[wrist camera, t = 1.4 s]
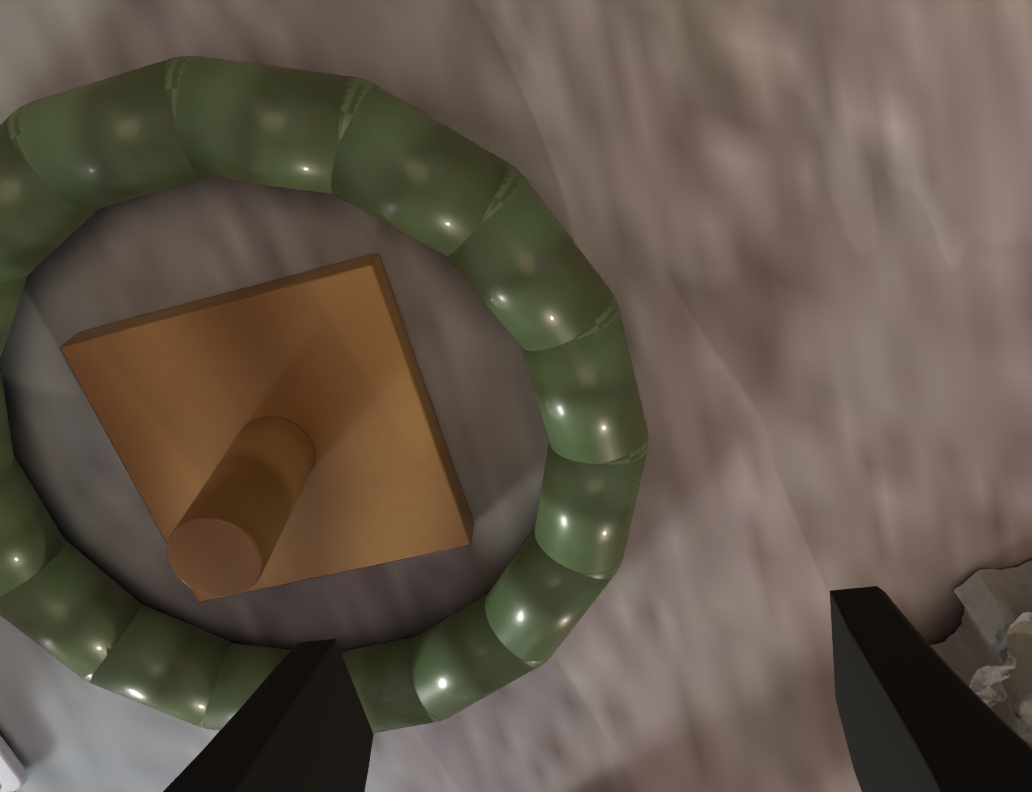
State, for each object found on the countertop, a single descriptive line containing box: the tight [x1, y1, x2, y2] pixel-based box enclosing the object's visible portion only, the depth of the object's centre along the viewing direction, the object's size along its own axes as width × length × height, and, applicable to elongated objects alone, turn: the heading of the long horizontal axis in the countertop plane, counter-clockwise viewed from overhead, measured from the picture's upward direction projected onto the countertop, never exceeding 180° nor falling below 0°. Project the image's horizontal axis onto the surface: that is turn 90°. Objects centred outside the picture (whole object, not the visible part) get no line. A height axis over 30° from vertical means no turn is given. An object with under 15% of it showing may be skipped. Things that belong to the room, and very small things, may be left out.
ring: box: [0, 56, 648, 733], centre depth 21 cm, size 18×18×2 cm
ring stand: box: [60, 253, 474, 602], centre depth 20 cm, size 8×8×6 cm
